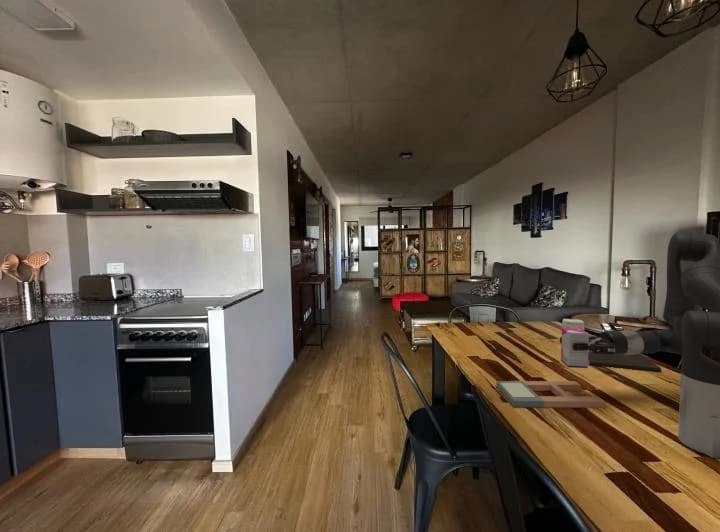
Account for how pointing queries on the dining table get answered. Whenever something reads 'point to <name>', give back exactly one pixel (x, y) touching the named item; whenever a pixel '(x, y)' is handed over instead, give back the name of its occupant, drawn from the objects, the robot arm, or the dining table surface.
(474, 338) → the dining table surface
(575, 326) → the ink box
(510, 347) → the dining table surface
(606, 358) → the hardcover book
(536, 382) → the board
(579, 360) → the supplement box
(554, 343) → the dining table surface
